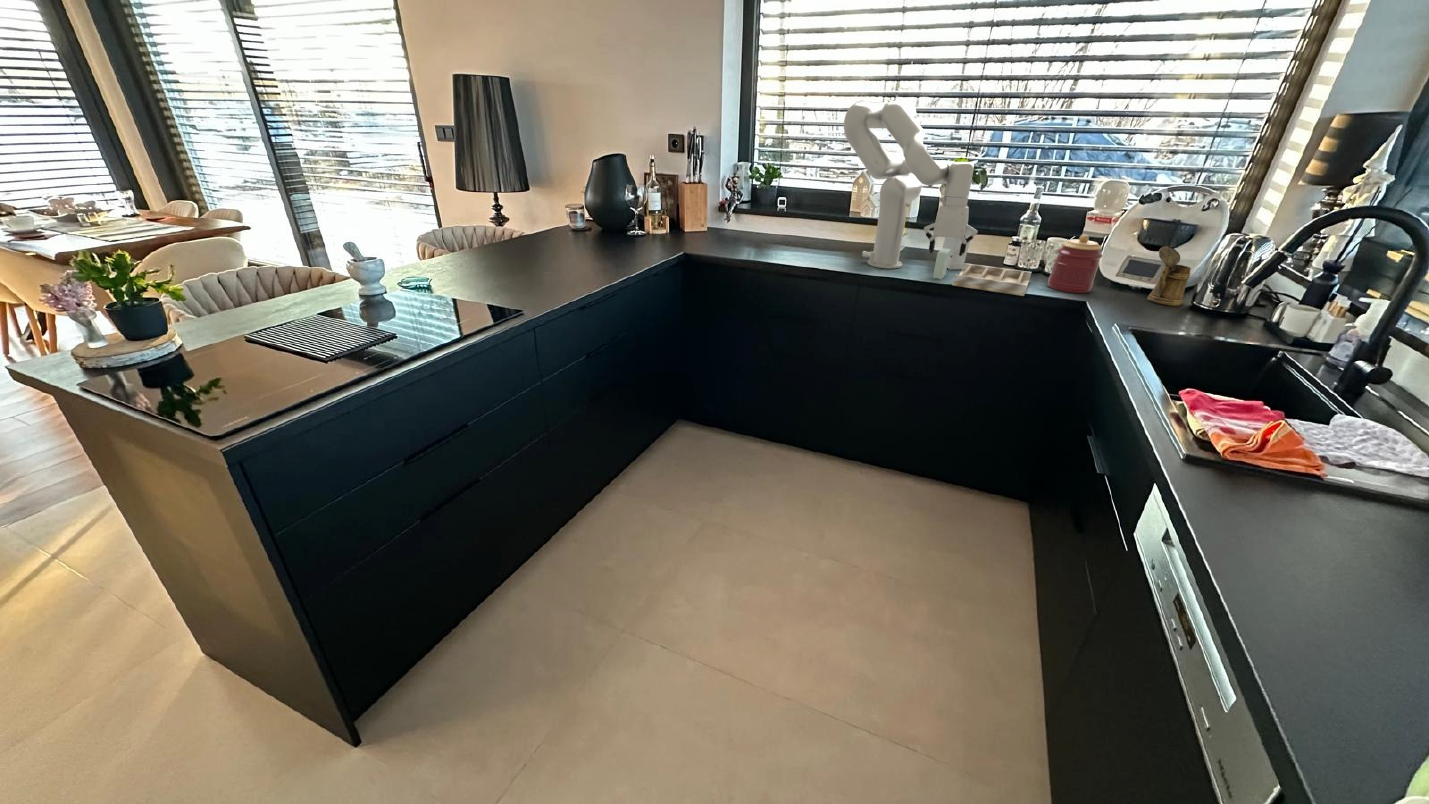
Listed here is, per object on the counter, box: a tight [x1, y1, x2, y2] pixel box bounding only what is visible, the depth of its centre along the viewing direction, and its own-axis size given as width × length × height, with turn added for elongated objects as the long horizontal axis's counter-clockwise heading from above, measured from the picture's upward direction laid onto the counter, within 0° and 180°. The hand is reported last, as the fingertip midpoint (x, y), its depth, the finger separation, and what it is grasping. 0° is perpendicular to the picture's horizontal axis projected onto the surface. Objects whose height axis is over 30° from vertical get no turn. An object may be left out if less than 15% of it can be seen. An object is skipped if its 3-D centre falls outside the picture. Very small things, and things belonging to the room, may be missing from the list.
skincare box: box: [942, 230, 972, 270], centre depth 207 cm, size 8×6×15 cm
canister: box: [1047, 234, 1103, 294], centre depth 183 cm, size 13×13×18 cm
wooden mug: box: [1146, 245, 1192, 307], centre depth 170 cm, size 9×14×18 cm, turn 110°
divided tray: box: [951, 262, 1032, 297], centre depth 189 cm, size 22×20×4 cm
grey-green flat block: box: [932, 247, 951, 280], centre depth 196 cm, size 3×8×9 cm, turn 149°
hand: (946, 253), depth 193 cm, fingers open, 9 cm apart
